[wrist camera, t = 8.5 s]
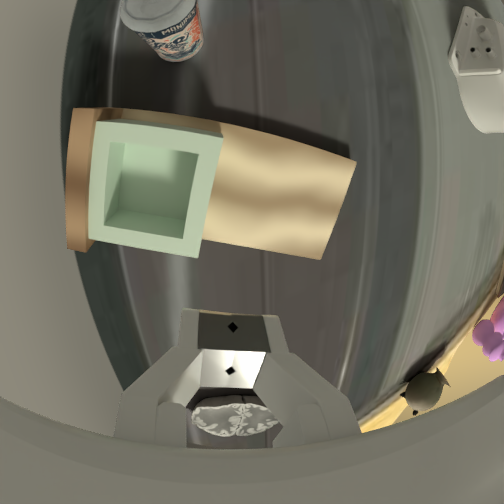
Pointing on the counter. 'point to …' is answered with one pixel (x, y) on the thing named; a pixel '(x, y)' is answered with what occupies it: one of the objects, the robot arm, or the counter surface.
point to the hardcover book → (500, 283)
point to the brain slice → (233, 415)
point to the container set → (491, 334)
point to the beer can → (166, 26)
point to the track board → (232, 185)
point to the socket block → (151, 184)
